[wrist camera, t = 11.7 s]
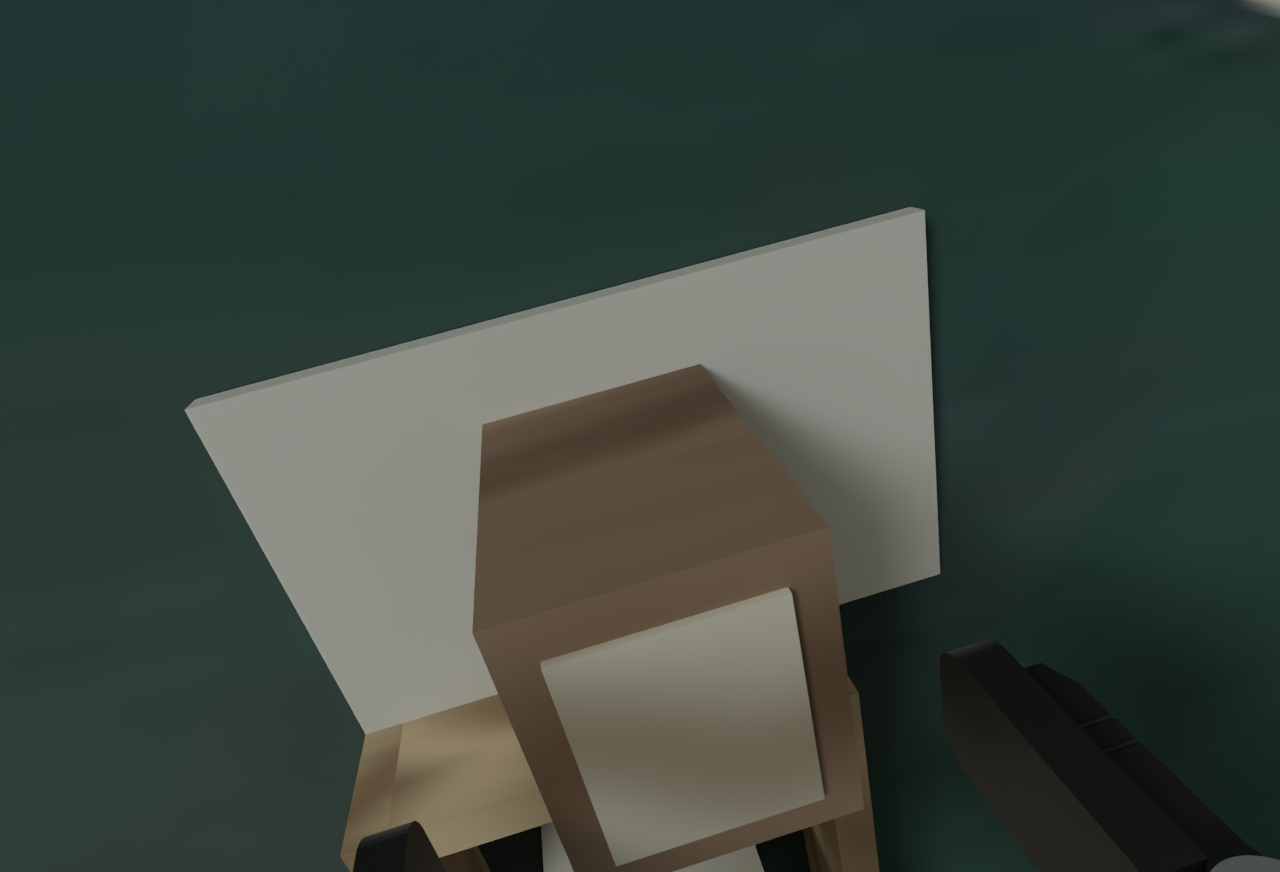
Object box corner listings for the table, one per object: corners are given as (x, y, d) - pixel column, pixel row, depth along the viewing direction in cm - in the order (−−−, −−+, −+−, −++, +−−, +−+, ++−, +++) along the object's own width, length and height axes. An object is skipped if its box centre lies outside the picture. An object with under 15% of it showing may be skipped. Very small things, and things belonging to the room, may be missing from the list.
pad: (376, 729, 19) (373, 747, 19) (195, 399, 15) (183, 410, 14) (928, 561, 20) (940, 573, 20) (910, 206, 16) (924, 210, 16)
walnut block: (482, 424, 16) (471, 641, 9) (699, 364, 16) (833, 532, 10) (556, 630, 18) (586, 908, 12) (741, 574, 19) (868, 816, 12)
